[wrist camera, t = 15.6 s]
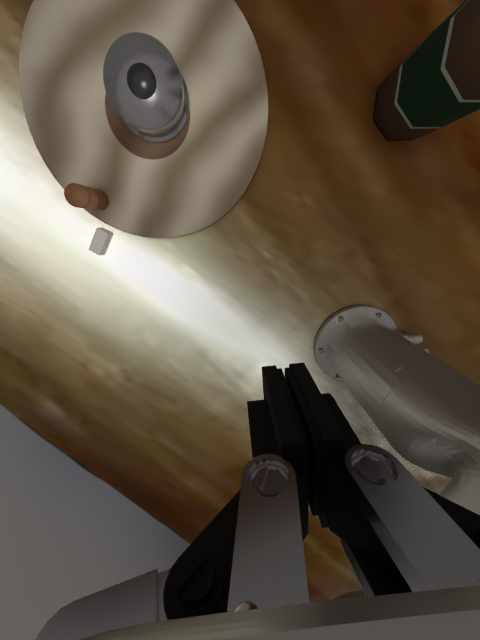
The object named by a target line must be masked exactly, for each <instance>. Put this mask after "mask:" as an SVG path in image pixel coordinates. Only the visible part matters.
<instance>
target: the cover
mask: <svg viewBox="0 0 480 640" xmlns="http://www.w3.org/2000/svg"><path fill="white" fill-rule="evenodd" d="M103 81H104V86H105V90H106V93H107V96H108V98H109V100H110V102H111V104H112V106H113V107H114V108H115V110H116V111H117V112H118V113H119V114H120V116H121V118H122V120H123V121H124V123H125V124H126V125H127V127H128V128H129V129H130V130H131V131H132V132H133V133H134V134H135V135H137V136H138V137H140V138H141V139H143V140H145V141H148V142H151V143H165V142H168V141H171V140H172V139H174V138H175V137H177V136H178V135H179V134H180V133H181V132H182V130H183V129H184V127H185V125H186V123H187V120H188V117H189V111H190V99H189V93H188V89H187V86H186V83H185V80H184V78H183V76H182V74H181V72H180V71H179V69H178V68H177V65H176V62H175V60H174V58H173V56H172V55H171V53H170V52H169V50H168V49H167V48H166V47H165V46H164V45H163V43H161V42H160V41H159V40H158V39H156V38H154V37H153V36H151V35H148V34H145V33H141V32H132V33H127V34H125V35H122V36H121V37H119V38H118V39H117V40H116V41H114V43H113V44H112V45H111V46H110V48H109V50H108V52H107V54H106V57H105V60H104V66H103Z"/></svg>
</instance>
